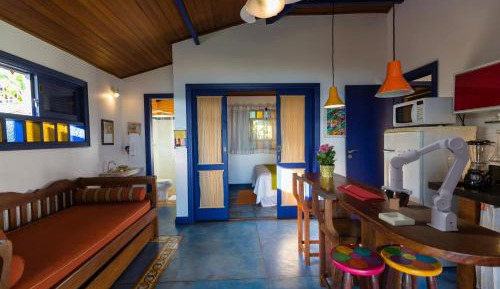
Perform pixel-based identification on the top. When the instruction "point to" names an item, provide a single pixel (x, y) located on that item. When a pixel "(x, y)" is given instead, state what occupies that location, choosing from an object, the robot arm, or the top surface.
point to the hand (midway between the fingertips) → (396, 205)
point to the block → (395, 204)
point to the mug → (405, 199)
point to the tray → (396, 219)
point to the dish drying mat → (359, 193)
